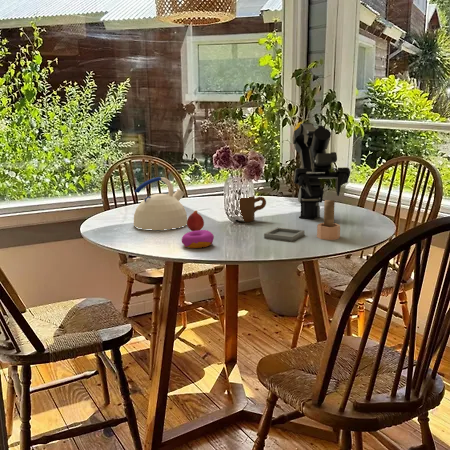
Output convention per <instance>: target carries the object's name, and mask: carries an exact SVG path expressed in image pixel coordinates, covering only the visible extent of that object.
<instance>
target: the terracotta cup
mask: <svg viewBox="0 0 450 450" xmlns="http://www.w3.org/2000/svg"><path fill="white" fill-rule="evenodd" d="M316 225H317V227H316V238H318V239H321V240H327V241H330V240H331V241H332V240H334V241H335V240H338V239H340V238H341V225H340V224H338V223H336V222H334V227H324V222H320V223H318V224H316Z"/></svg>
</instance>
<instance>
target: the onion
mask: <svg viewBox="0 0 450 450" xmlns="http://www.w3.org/2000/svg"><path fill="white" fill-rule="evenodd" d="M204 225H205V221H204V218H203V216H202V215H201V214H200V213H198V210H194V211H193V212H192V213H190V215H189V216H188V217H187V228H188V229H189V230H190V232H191V231H198V230H203V228H204Z"/></svg>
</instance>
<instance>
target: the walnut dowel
mask: <svg viewBox="0 0 450 450" xmlns="http://www.w3.org/2000/svg"><path fill="white" fill-rule="evenodd" d="M323 202H324V204H323V206H324V207H323V208H324V210H323V223H324V227H334V223H335V200H334V199H325V200H324V201H323Z"/></svg>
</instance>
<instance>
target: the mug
mask: <svg viewBox="0 0 450 450" xmlns="http://www.w3.org/2000/svg"><path fill="white" fill-rule="evenodd" d="M257 202H261V204H259V205H255V204H256V203H257ZM266 205H267V200H266V198H265V197H263V196H257V197H255V195H253V197H249V198H241V199H240V210H241V213H242V214H241V215H242V216H243V219H244V221H245V222H244V223H252V222H253V221H255V219H256V218H255V213H256V212H258V211H260V210H263V209H264V208H265V207H266Z"/></svg>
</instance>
